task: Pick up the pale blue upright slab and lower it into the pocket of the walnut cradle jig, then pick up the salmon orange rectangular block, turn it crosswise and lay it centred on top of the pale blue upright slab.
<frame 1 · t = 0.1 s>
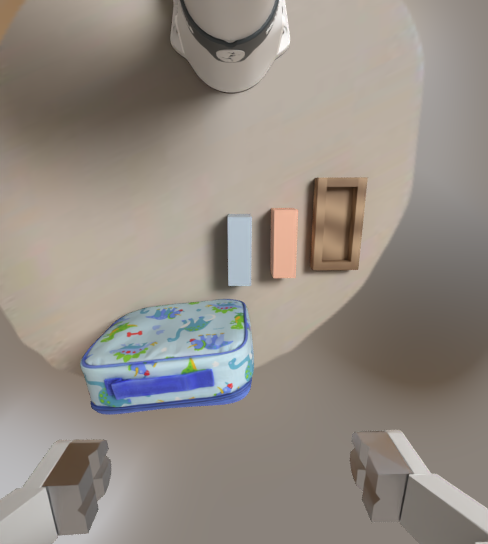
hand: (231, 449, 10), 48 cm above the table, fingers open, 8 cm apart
jig: (334, 224, 56), on the table
pale blue upright slab: (239, 246, 57), on the table
salmon orange rectangular block: (281, 240, 57), on the table
lunch box: (186, 323, 61), on the table
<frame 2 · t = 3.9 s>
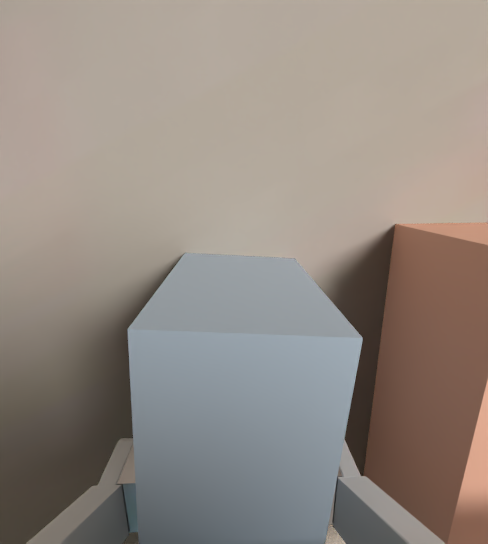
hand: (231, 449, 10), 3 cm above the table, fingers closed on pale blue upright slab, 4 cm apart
pale blue upright slab: (232, 395, 12), on the table, touching gripper
salmon orange rectangular block: (421, 365, 13), on the table
when the fingers open (5 cm above the table, at t = 9.4 s): pale blue upright slab drops 1 cm, resting on jig.
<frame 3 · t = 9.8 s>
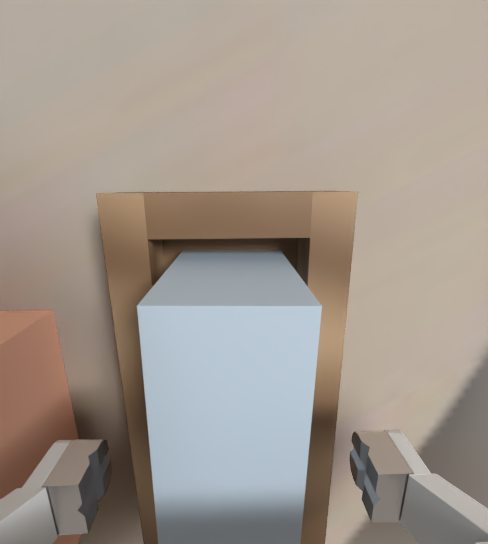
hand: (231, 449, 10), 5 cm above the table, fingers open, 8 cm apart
jig: (233, 368, 14), on the table
pale blue upright slab: (231, 377, 14), point 1 cm above the table, touching jig
salmon orange rectangular block: (37, 418, 15), on the table
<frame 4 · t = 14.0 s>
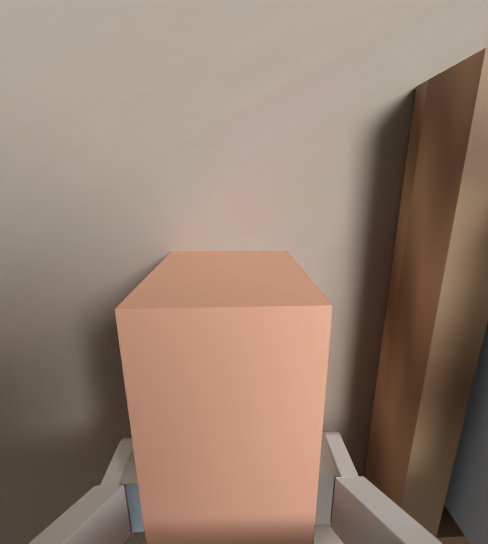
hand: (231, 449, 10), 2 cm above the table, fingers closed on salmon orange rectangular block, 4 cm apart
salmon orange rectangular block: (232, 398, 12), on the table, touching gripper
when the fingers open (10 cm above the table, at t = 18.9 s): salmon orange rectangular block stays where it is, resting on pale blue upright slab.
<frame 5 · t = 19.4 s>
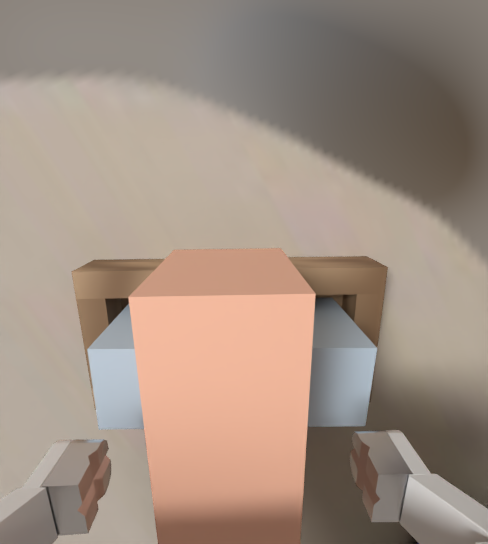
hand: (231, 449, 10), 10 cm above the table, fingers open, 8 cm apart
jig: (233, 322, 19), on the table
pale blue upright slab: (234, 327, 19), point 1 cm above the table, touching jig, salmon orange rectangular block
salmon orange rectangular block: (230, 386, 13), point 7 cm above the table, touching pale blue upright slab
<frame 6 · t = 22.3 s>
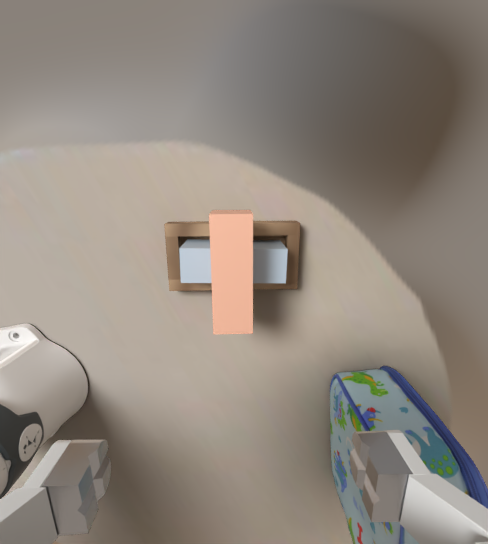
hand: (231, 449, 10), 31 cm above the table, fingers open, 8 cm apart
jig: (233, 253, 40), on the table
pale blue upright slab: (233, 254, 39), point 1 cm above the table, touching jig, salmon orange rectangular block
salmon orange rectangular block: (232, 264, 33), point 7 cm above the table, touching pale blue upright slab
lunch box: (358, 425, 49), on the table
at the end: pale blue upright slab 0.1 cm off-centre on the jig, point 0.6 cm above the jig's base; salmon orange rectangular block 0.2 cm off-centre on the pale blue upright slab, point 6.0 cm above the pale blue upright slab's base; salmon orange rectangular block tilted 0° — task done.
